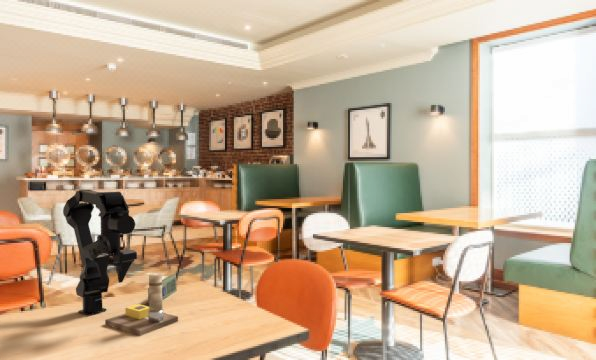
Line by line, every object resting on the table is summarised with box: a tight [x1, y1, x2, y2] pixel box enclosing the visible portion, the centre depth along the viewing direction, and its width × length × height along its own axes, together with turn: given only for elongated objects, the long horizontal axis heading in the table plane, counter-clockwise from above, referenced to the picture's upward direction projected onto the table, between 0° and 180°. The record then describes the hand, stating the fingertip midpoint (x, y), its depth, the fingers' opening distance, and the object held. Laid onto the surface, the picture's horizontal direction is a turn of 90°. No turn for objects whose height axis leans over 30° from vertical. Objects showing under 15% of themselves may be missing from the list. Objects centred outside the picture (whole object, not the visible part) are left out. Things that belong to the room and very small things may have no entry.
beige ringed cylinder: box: [148, 273, 164, 323], centre depth 132 cm, size 4×4×14 cm
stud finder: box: [124, 303, 149, 319], centre depth 137 cm, size 7×4×3 cm, turn 57°
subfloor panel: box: [104, 312, 179, 336], centre depth 134 cm, size 17×14×2 cm
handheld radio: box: [143, 274, 178, 307], centre depth 159 cm, size 7×3×25 cm
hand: (111, 280), depth 136 cm, fingers open, 9 cm apart
